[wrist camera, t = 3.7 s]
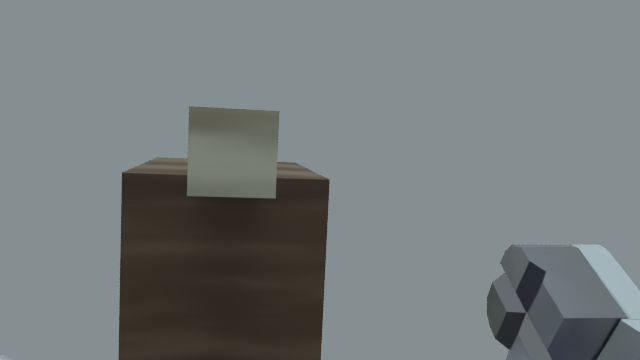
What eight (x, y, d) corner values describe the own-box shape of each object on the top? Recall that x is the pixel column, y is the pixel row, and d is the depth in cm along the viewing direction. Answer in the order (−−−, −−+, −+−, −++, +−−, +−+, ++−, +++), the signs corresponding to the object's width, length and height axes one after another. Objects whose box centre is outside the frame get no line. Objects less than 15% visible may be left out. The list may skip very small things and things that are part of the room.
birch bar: (275, 198, 20) (279, 111, 19) (186, 195, 19) (189, 106, 19) (249, 161, 41) (250, 120, 41) (207, 159, 41) (208, 117, 40)
